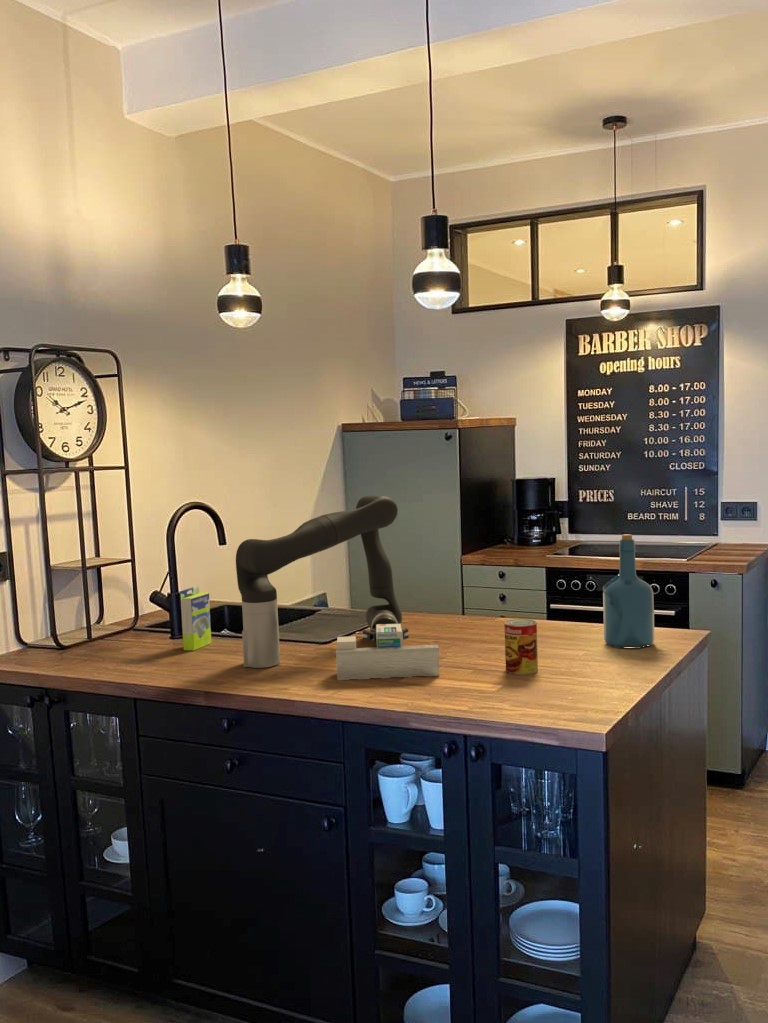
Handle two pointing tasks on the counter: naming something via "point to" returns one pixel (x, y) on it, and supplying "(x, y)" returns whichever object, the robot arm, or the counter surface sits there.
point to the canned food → (521, 646)
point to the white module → (346, 642)
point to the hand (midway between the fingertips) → (386, 641)
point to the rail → (387, 662)
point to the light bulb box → (389, 635)
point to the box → (195, 619)
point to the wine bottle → (628, 603)
